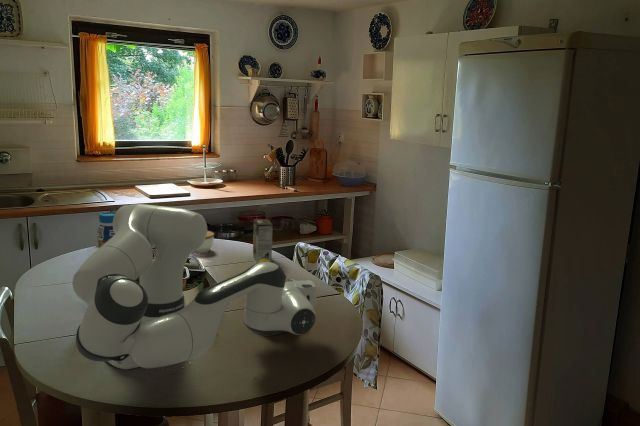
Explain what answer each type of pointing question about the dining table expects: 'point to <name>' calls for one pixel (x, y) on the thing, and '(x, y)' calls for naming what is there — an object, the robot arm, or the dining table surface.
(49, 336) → the dining table surface
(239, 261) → the dining table surface
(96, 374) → the dining table surface
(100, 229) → the blue cylindrical canister
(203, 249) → the lidded jar
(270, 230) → the coffee box
